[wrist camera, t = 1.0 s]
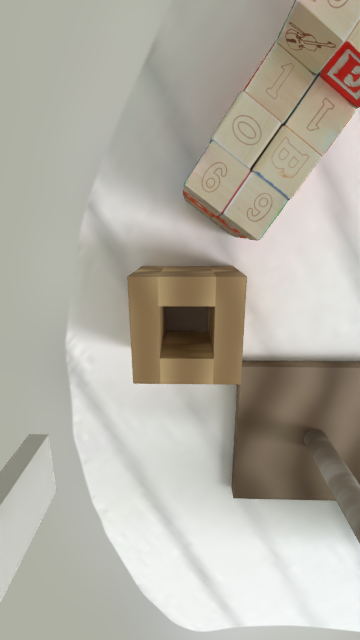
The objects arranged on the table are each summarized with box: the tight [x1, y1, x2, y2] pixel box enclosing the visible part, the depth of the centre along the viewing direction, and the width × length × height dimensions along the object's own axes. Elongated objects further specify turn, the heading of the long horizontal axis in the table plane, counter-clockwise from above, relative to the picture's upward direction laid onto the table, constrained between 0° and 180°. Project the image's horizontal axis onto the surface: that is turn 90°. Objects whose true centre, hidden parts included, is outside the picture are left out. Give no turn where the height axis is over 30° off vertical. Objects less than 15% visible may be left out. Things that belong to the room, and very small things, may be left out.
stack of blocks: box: [183, 0, 360, 240], centre depth 19 cm, size 21×6×12 cm, turn 145°
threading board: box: [232, 361, 360, 543], centre depth 27 cm, size 17×17×14 cm
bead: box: [127, 266, 247, 385], centre depth 27 cm, size 9×9×7 cm
